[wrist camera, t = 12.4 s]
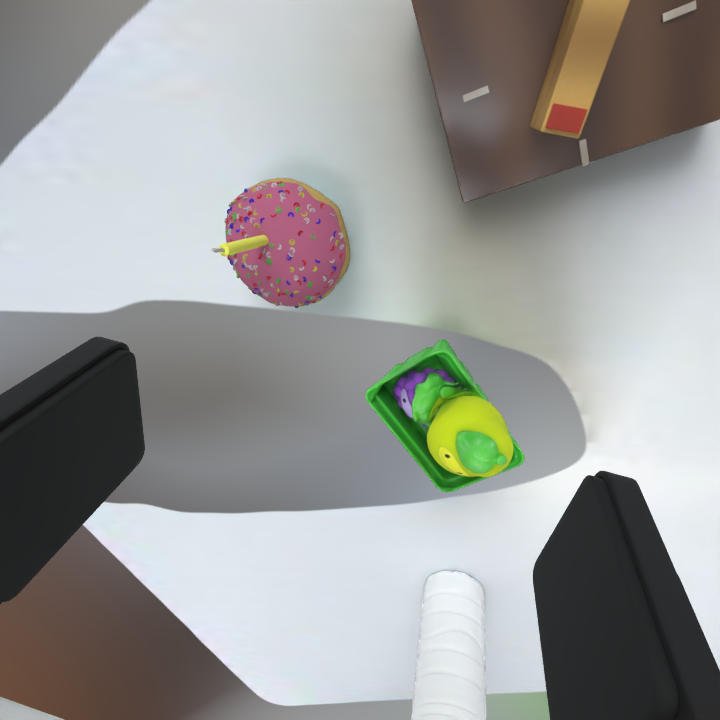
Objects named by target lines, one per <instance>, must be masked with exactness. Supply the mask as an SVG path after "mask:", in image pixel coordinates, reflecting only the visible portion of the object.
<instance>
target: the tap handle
mask: <svg viewBox="0 0 720 720" xmlns="http://www.w3.org/2000/svg"><path fill="white" fill-rule="evenodd" d="M629 2H630V0H569V3H568V6H567V10H566V13H565V16H564V19H563V22H562V25H561V29H560V32H559V35H558V38H557V41H556V44H555V48H554V51H553V54H552V57H551V60H550V63H549V67H548V70H547V73H546V76H545V79H544V82H543V86H542V89H541V92H540V95H539V98H538V101H537V105H536V108H535V111H534V114H533V117H532V120H531V124H530V127H532V128H534V129H536V130H539V131H541V132H545V133H551V134H556V135H561V136H566V137H572V138H577V139H578V138H579V137H580V135H581V132H582V129H583V127H584V124H585V121H586V118H587V116H588V113H589V110H590V108H591V105H592V102H593V100H594V97H595V94H596V91H597V89H598V86H599V83H600V81H601V78H602V75H603V73H604V70H605V67H606V64H607V62H608V59H609V56H610V54H611V51H612V48H613V46H614V43H615V40H616V37H617V35H618V32H619V29H620V27H621V24H622V21H623V19H624V16H625V13H626V10H627V8H628V5H629Z"/></svg>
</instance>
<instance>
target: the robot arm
mask: <svg viewBox="0 0 720 720" xmlns="http://www.w3.org/2000/svg"><path fill="white" fill-rule="evenodd" d="M144 450H145V444H144V435H143V426H142V417H141V408H140V398H139V388H138V379H137V370H136V360H135V356H134V354H133V353H131V352H130V350H129V348H128V346H127V345H126V344H124V343H121V342H118V341H113V340H110V339H106V338H103V337H94V338H92V339H90V340H88V341H87V342H85V343H83V344H82V345H80V346H79V347H77V348H76V349H74V350H72V351H71V352H69V353H67V354H66V355H64V356H62V357H61V358H59V359H58V360H56V361H55V362H53V363H51V364H50V365H48V366H46V367H45V368H43V369H41V370H40V371H39V372H37V373H35V374H33V375H32V376H30V377H28V378H27V379H25V380H24V381H22V382H20V383H19V384H17V385H16V386H14V387H12V388H11V389H9V390H7V391H6V392H4V393H3V394H1V395H0V604H1V603H2V602H6V601H9V600H11V599H12V598H14V597H15V596H16V595H17V594H18V593H19V592H20V591H21V590H22V589H23V588H24V587H25V586H26V585H27V584H28V583H29V582H30V580H32V578H33V577H34V576H35V575H36V574H37V573H38V572H39V571H40V570H41V569H42V568H43V567H44V566H45V564H46V563H47V562H48V561H49V560H50V559H51V558H52V557H53V556H54V555H55V553H56V552H57V551H58V550H59V549H60V548H61V547H62V546H63V545H64V544H65V543H66V542H67V541H68V540H69V539H70V537H71V536H72V535H73V534H74V533H75V532H76V531H77V530H78V529H79V528H80V527H81V526H82V524H83V523H84V522H85V521H86V520H87V519H88V518H89V517H90V516H91V515H92V514H93V513H94V512H95V510H96V509H97V508H98V507H99V506H100V505H101V504H102V503H103V502H104V501H105V500H106V499H107V498H108V496H109V495H110V494H111V493H112V492H113V491H114V490H115V489H116V488H117V487H118V486H119V485H120V483H121V482H122V481H123V480H124V479H125V478H126V477H127V476H128V475H129V474H130V473H131V472H132V471H133V469H134V468H135V467H136V466H137V465H138V464H139V463H140V461H141V459H142V457H143V455H144ZM533 585H534V593H535V601H536V609H537V617H538V625H539V633H540V641H541V649H542V657H543V665H544V673H545V681H546V689H547V697H548V705H549V713H550V720H720V671H719V668H718V666H717V664H716V661H715V659H714V657H713V654H712V652H711V650H710V647H709V645H708V643H707V640H706V638H705V636H704V634H703V631H702V629H701V627H700V624H699V622H698V620H697V617H696V615H695V613H694V610H693V608H692V606H691V604H690V601H689V599H688V597H687V594H686V592H685V590H684V587H683V585H682V583H681V580H680V578H679V576H678V575H677V573H676V571H675V568H674V566H673V564H672V561H671V559H670V557H669V554H668V552H667V550H666V547H665V545H664V543H663V541H662V538H661V536H660V534H659V531H658V529H657V527H656V524H655V522H654V520H653V517H652V515H651V513H650V510H649V508H648V506H647V503H646V501H645V499H644V496H643V494H642V492H641V490H640V487H639V485H638V483H637V482H636V481H635V480H634V479H632V478H628V477H624V476H621V475H617V474H613V473H609V472H606V471H599V472H598V473H597V474H596V475H595V476H591V475H588V476H587V477H585V479H584V480H583V482H582V483H581V485H580V487H579V488H578V490H577V492H576V494H575V495H574V497H573V499H572V500H571V502H570V504H569V506H568V507H567V509H566V511H565V512H564V514H563V516H562V518H561V519H560V521H559V523H558V524H557V526H556V528H555V530H554V531H553V533H552V535H551V536H550V538H549V540H548V541H547V543H546V545H545V547H544V548H543V550H542V552H541V553H540V555H539V557H538V559H537V560H536V563H535V566H534V570H533ZM0 720H64V719H61V718H58V717H56V716H53V715H50V714H47V713H44V712H41V711H39V710H36V709H33V708H30V707H27V706H25V705H22V704H19V703H16V702H13V701H11V700H8V699H5V698H2V697H0Z"/></svg>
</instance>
